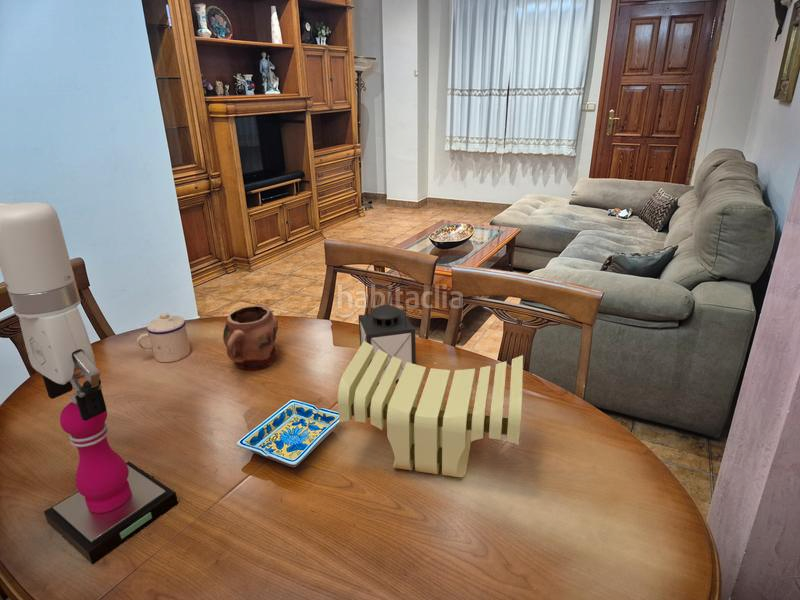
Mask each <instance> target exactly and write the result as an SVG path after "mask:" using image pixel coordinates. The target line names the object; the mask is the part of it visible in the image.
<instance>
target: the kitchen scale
mask: <svg viewBox="0 0 800 600" xmlns="http://www.w3.org/2000/svg"><path fill="white" fill-rule="evenodd" d="M126 465H127V467H128V470H129V475H128V478H127V481H128V482H129V486H130V489H131V493H130V496H129V498H128V499H127V500H126V501H125V503H124V504H122V505H121V506H119V507H118V508H116V509H114V510H111V511H109V512H104V513H95V512H91V511H90V510H89V509H88V507H87V505H86V502H85V496H83V495H81V494H80V493H79V492H78V491H76V492H74V493H73V494H70V495H69V496H68V497H66V498H64V499H62V500H61V501H59V502H57V503H56V504H53V506H50V507H49V508H47V509H46V510H44V511H43V515H44V517H45V519H46V522H47V524H48V525H49V526H51V528H53V529H54V531H56V533H58V534H59V535H60V536H61V537H62V538H64V540H66V541H67V543H69V544H70V545H71V546H72V547H73V548H74V549H75V550H77V552H78V553H80V555H82V556H83V557H84V558H85V559H86V560H87V561H89V563H90V564H91V565H94V564H95V563H97V562H98V561H100V560H101V559H102V558H104V557H105V556H107V555H108V554H109V553H111V552H112V551H113V550H115V549H116V548H118V547H119V546H121V545H122V544H124V543H125V542H127V540H129V539H130V538H132V537H133V536H135V535H136V534H137V533H139V532H140V531H142V530H143V529H145V528H146V527H147V526H149V525H150V524H152V523H153V522H155V521H156V520H157V519H158V518H160V517H161V516H163V515H164V514H165V513H167V512H169V511H170V510H172V509H173V508H174V507H176V506H177V505H178V504H179V501H178V497H177V493H176V491H174V490H173V489H171V488H169V487H168V486H167V485H166V484H164V483H163V482H161V481H159V480H158V479H156V478H155V477H154V476H152V475H150V474H149V473H147V472H146V471H144V470H143V469H141V468H140V467H138V466H137V465H136V464H134V463H132V462H131V461H127V462H126Z"/></svg>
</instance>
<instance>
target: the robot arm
mask: <svg viewBox="0 0 800 600" xmlns="http://www.w3.org/2000/svg"><path fill="white" fill-rule="evenodd" d="M0 271H1V274H2V276H3V281H4V285H5V287H6V290H7V293H8V297H9V299H10V302H11V305H12V309H13V312H14V315H15V316H16V317H17V318H18V320H19V325H20V330H21V334H22V337H23V343H24V345H25V350H26V353H27V356H28V360H29V361H28V362H29V363H30V365H31V368H33V370H34V371H36V372H37V373H39V374H41V377H42V380H43V383H44V387H45V390H46V393H47V395H48V398H50V399H51V400H54V399H56V398H58V397H61V396H63V395H65V394H68V393H70V392H72V391H73V389H74V391H75V393H76V392H77V394H78V395H77V396H75V398H76V401H77V404H78V408H79V411H80V415H81V418H82V419H83V420H84V421H87V420H89V419H91V418H93V417H95V416H97V415H99V414H101V413H103V412H105V411H106V410H107V405H106V402H105V397H104V394H103V387H102V380H101V372H100V370H99V368H98V367H97V363H96V359H95V354H94V351H93V347H92V343H91V341H90V337H89V334H88V332H87V328H86V326H85V323H84V320H83V317H82V315H81V312H80V311H79V308H78V306H79V305H80V304H81V302H82V301H81V296H80V293H79V289H78V286H77V282H76V278H75V273H74V271H73V266H72V263H71V259H70V256H69V251H68V248H67V244H66V240H65V237H64V232H63V229H62V225H61V221H60V218H59V215H58V212H57V211H56V209H55V208H54V207H53V206H52V205H50V204H48V203H45V202H34V201H32V202H31V201H29V202H28V201H27V202H17V203H6V202H0ZM79 370H80V372H78V373H74V372H77V371H79ZM83 378H85V380H86V381H84V382H83V383H82V385H81V383H80V382H79V380H80V379H83Z"/></svg>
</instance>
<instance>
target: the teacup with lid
mask: <svg viewBox="0 0 800 600" xmlns="http://www.w3.org/2000/svg"><path fill="white" fill-rule="evenodd" d="M186 324H187V322H186V320H185V318H184V317H182V316H180V315H169V313H168V312H162V313H160V314H159V317H157V318H156V319H153V320H151V321H150V322H149V323H148V324H147V326H146V331H147V332H146V333H141V334H140V335H139V336H138V337H137V338H136V345H137V347H138V349H140V350H141V351H142V352H145V353H151V352H153V357H154V359H155V361H157V362H159V363H173V362H177V361H181V360H183V359H185V358H186V357H188V356H189V355H190V353H191V346H190V341H189V337H188V332H187V327H186ZM148 337H149V339H150V344H151V347H144V346H143V345H142V344H141V340H142V339H144V338H148Z"/></svg>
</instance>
